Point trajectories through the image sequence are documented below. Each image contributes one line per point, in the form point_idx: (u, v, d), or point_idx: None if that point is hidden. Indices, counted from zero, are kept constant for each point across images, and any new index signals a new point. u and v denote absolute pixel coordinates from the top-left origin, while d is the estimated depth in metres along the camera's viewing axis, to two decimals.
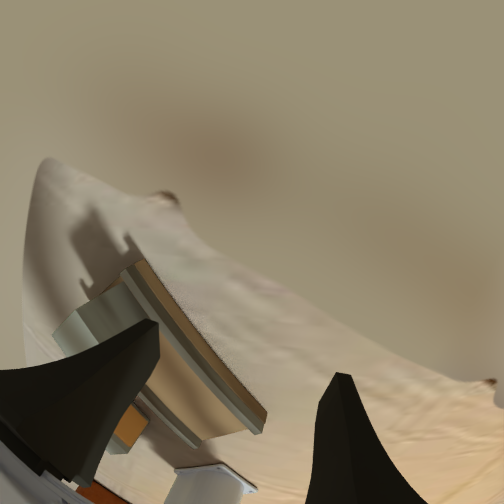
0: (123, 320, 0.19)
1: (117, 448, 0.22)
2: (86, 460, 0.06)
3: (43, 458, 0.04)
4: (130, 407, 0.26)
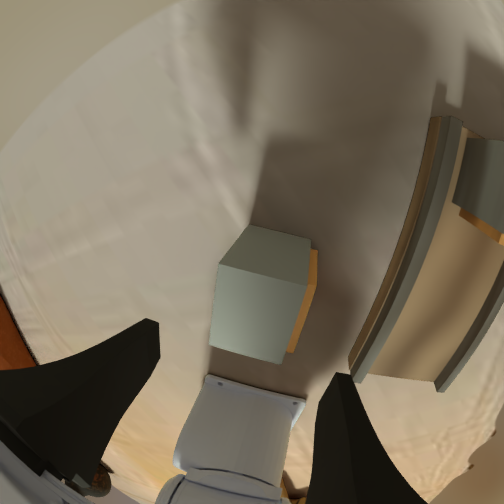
0: None
1: (267, 348, 0.14)
2: (86, 460, 0.06)
3: (43, 458, 0.04)
4: None
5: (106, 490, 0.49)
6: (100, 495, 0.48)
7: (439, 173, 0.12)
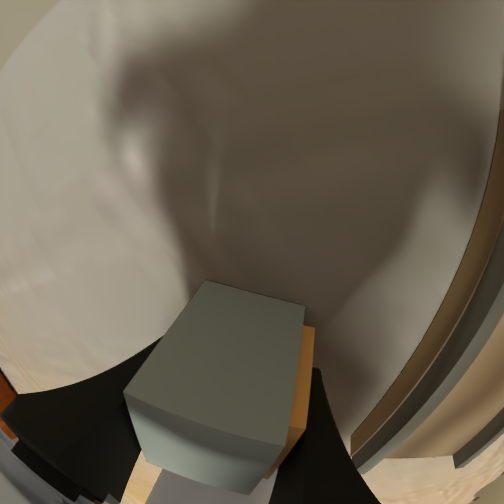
0: None
1: (226, 483, 0.07)
2: (118, 478, 0.06)
3: (80, 485, 0.04)
4: None
5: None
6: None
7: None
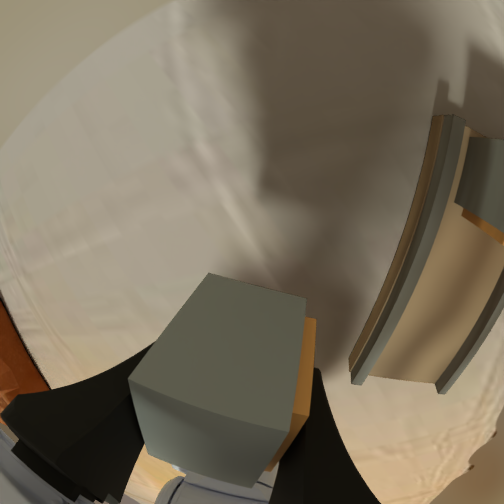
0: None
1: (229, 475, 0.07)
2: (118, 478, 0.06)
3: (80, 485, 0.04)
4: None
5: None
6: None
7: (442, 173, 0.11)
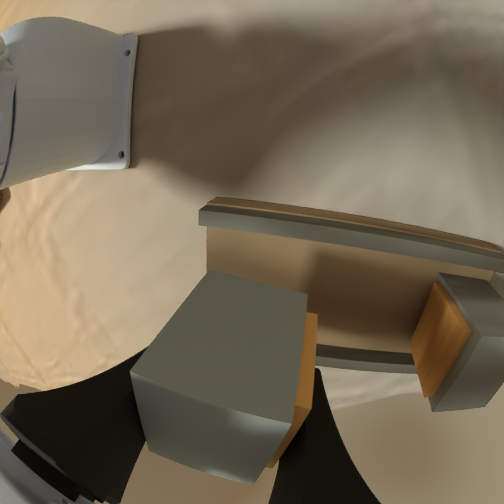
0: None
1: (230, 471, 0.07)
2: (118, 478, 0.06)
3: (80, 485, 0.04)
4: None
5: None
6: None
7: (472, 253, 0.12)
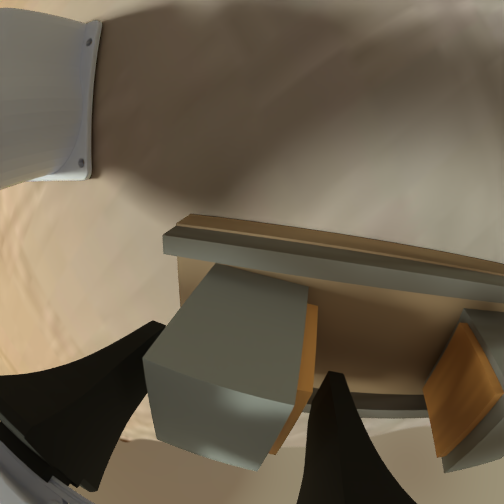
0: None
1: (236, 457, 0.08)
2: (93, 464, 0.06)
3: (51, 464, 0.04)
4: None
5: None
6: None
7: None
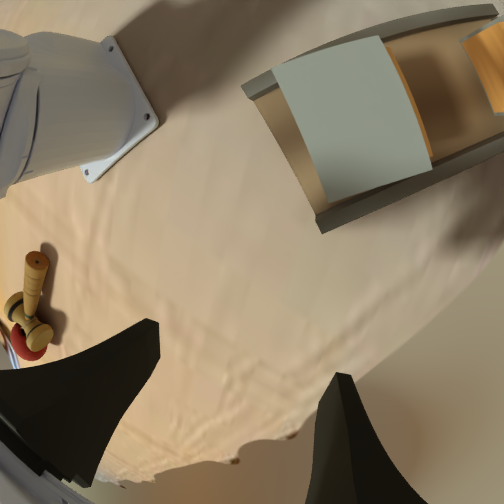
0: None
1: (402, 150, 0.08)
2: (86, 460, 0.06)
3: (43, 458, 0.04)
4: None
5: None
6: None
7: (462, 6, 0.07)
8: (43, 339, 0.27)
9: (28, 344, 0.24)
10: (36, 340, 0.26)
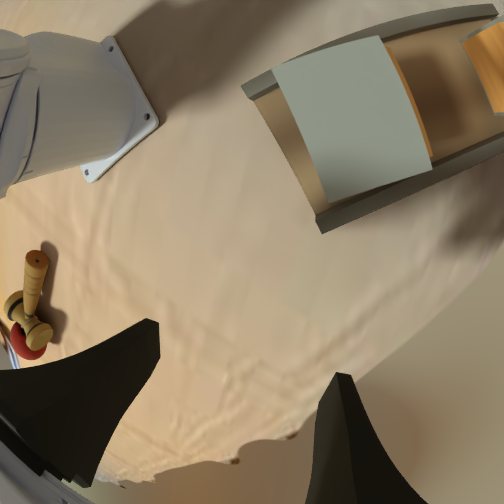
0: None
1: (402, 150, 0.08)
2: (86, 460, 0.06)
3: (43, 458, 0.04)
4: None
5: None
6: None
7: (462, 6, 0.07)
8: (43, 338, 0.27)
9: (28, 343, 0.24)
10: (36, 339, 0.26)
